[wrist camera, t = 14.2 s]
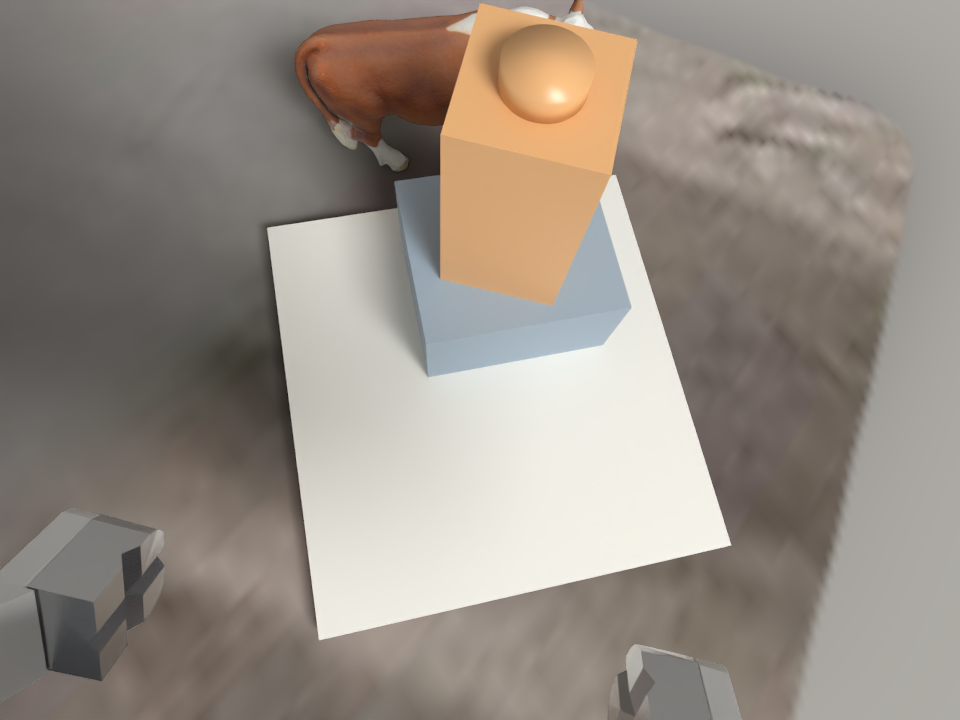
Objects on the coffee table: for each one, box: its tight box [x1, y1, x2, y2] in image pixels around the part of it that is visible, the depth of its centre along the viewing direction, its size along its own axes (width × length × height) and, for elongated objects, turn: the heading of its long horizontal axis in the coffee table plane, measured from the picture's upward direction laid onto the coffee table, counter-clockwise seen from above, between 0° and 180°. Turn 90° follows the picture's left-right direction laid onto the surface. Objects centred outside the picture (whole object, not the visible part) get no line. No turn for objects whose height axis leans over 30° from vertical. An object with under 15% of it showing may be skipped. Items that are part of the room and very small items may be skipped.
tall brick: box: [440, 3, 637, 306], centre depth 20 cm, size 4×4×9 cm
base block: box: [394, 175, 632, 377], centre depth 27 cm, size 8×7×4 cm
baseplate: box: [267, 175, 731, 640], centre depth 28 cm, size 17×18×1 cm
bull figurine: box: [295, 0, 593, 172], centre depth 28 cm, size 4×14×8 cm, turn 92°
